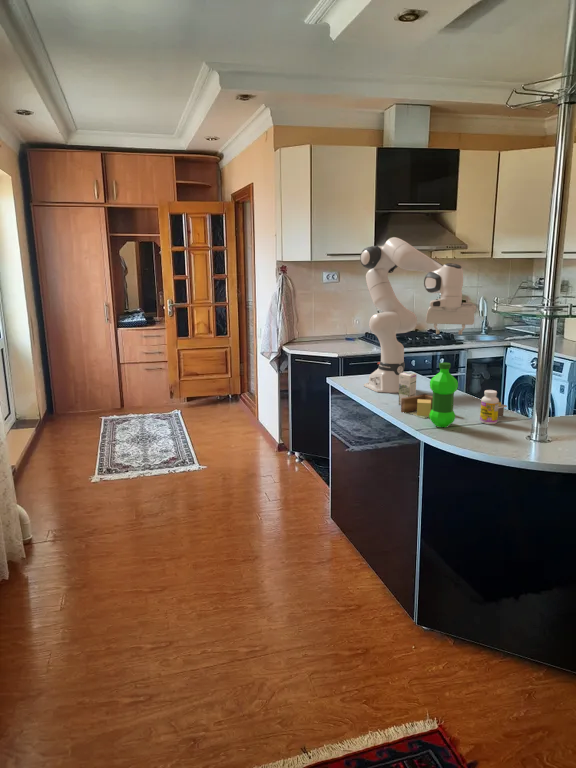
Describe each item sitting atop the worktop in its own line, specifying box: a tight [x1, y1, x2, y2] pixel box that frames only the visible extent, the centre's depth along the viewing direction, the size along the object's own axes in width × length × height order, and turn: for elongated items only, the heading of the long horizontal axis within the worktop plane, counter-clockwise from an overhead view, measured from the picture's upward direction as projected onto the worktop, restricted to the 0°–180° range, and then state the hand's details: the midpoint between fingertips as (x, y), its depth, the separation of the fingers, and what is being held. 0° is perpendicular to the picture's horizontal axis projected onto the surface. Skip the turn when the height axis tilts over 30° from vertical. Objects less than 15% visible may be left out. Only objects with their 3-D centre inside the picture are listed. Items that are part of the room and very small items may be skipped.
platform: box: [498, 401, 508, 418], centre depth 231 cm, size 12×18×7 cm, turn 111°
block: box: [416, 399, 431, 416], centre depth 235 cm, size 6×6×6 cm
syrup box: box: [398, 371, 417, 406], centre depth 250 cm, size 6×6×14 cm
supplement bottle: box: [479, 389, 500, 425], centre depth 223 cm, size 7×7×13 cm
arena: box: [400, 393, 433, 414], centre depth 237 cm, size 16×14×6 cm
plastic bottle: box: [428, 361, 459, 428], centre depth 218 cm, size 10×10×25 cm
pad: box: [409, 411, 430, 419], centre depth 236 cm, size 8×8×1 cm
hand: (448, 334), depth 243 cm, fingers open, 8 cm apart
